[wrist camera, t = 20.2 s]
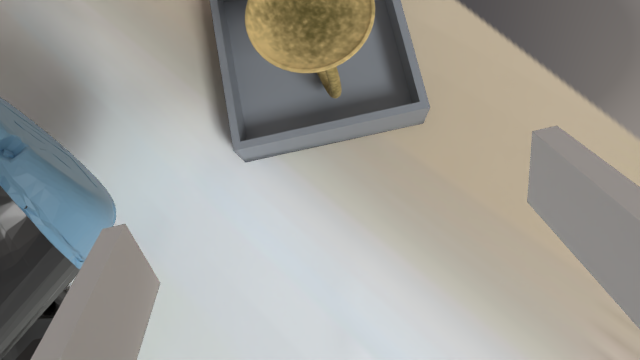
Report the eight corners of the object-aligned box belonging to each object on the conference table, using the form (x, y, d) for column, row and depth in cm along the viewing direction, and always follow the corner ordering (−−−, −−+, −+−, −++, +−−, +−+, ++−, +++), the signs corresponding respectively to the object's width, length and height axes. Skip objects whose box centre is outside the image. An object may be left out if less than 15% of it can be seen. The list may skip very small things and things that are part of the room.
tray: (245, 162, 41) (233, 150, 37) (219, 3, 45) (206, -22, 41) (423, 123, 40) (430, 107, 36) (380, -35, 44) (382, -64, 40)
